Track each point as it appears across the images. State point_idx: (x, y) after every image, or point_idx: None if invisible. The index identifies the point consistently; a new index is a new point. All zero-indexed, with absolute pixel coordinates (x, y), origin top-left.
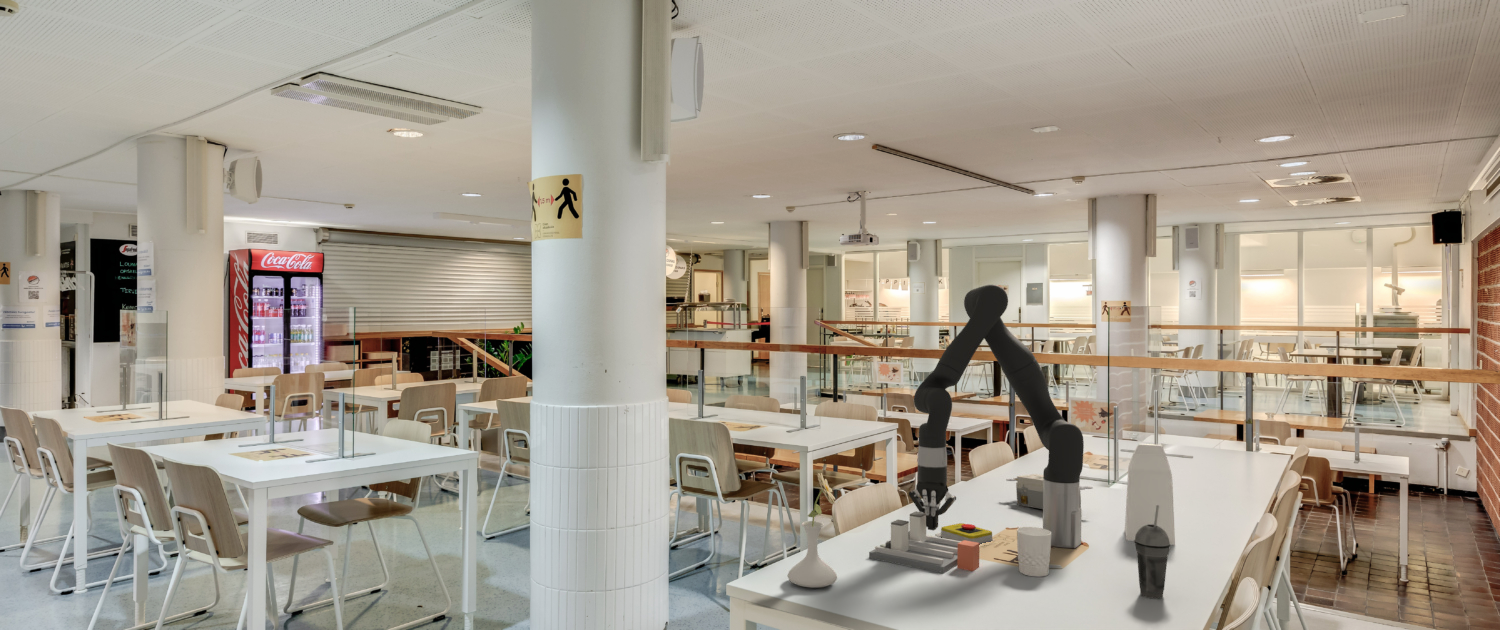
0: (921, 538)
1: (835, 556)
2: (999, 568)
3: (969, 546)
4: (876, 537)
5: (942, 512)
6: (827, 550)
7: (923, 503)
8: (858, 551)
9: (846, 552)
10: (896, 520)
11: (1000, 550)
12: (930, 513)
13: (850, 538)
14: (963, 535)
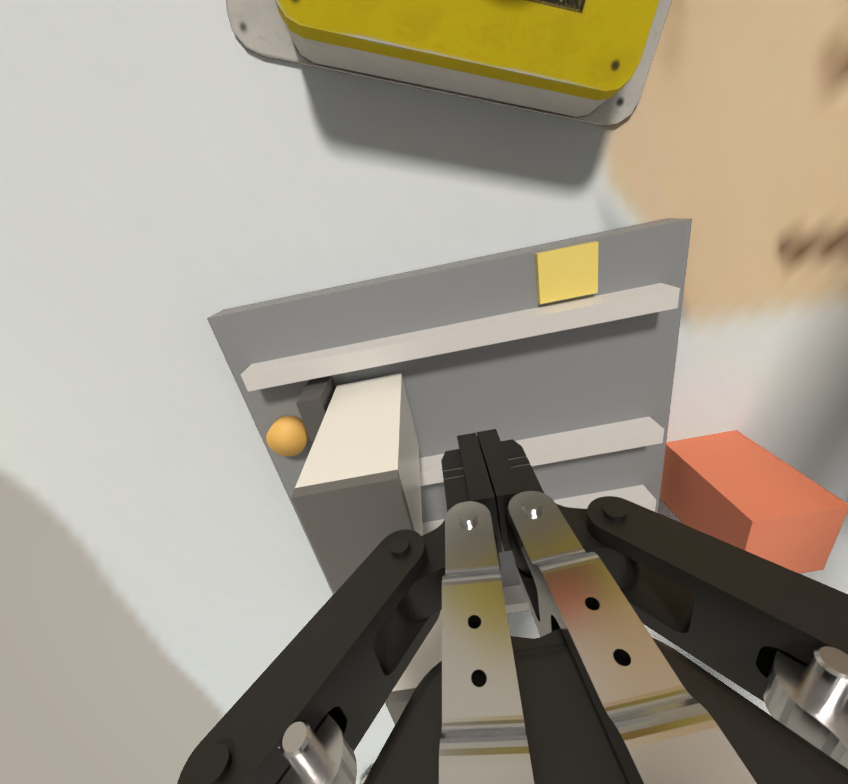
0: (414, 442)
1: (273, 658)
2: (825, 382)
3: (798, 570)
4: (112, 407)
5: (643, 578)
6: (200, 642)
7: (393, 606)
8: (268, 590)
9: (255, 619)
10: (397, 718)
11: (799, 32)
12: (498, 556)
13: (78, 504)
14: (544, 85)
